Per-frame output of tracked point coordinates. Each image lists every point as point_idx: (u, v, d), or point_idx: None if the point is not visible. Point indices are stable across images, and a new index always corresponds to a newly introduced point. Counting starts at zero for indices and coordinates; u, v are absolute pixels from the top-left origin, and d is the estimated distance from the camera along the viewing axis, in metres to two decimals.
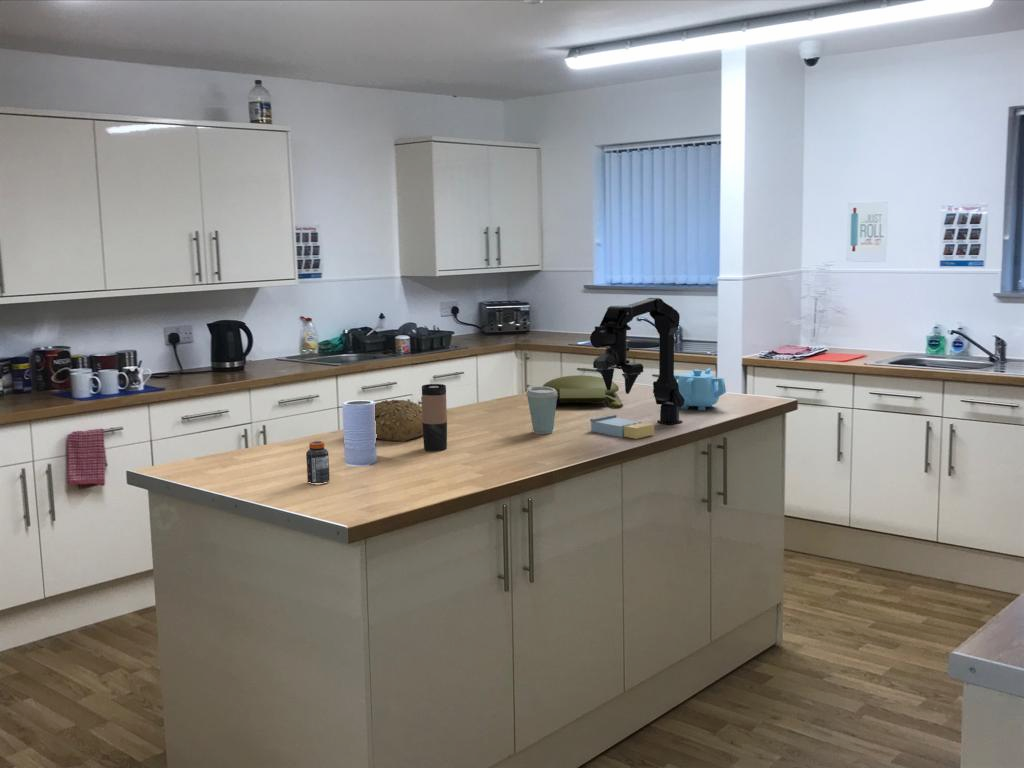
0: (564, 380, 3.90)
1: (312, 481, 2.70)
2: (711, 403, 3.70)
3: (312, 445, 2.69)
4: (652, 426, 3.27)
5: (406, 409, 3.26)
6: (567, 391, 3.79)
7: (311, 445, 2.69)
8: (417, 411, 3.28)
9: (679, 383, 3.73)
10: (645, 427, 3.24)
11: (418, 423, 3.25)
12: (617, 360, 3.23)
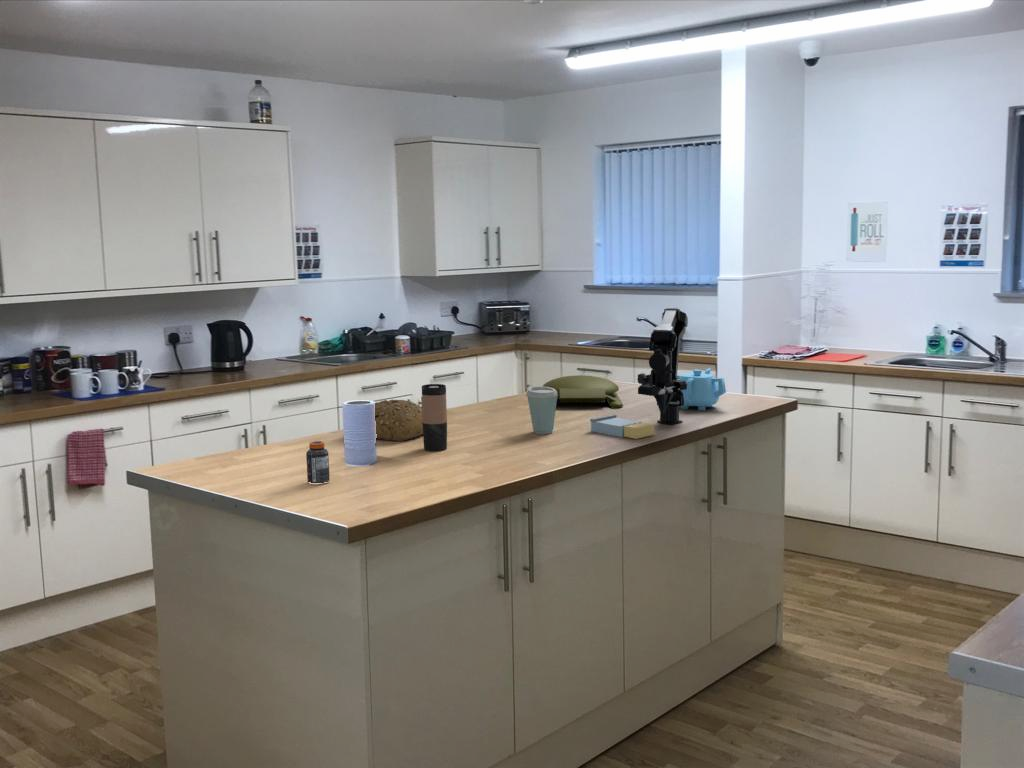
0: (564, 380, 3.90)
1: (312, 481, 2.70)
2: (711, 403, 3.70)
3: (312, 445, 2.69)
4: (652, 426, 3.27)
5: (405, 409, 3.27)
6: (567, 391, 3.79)
7: (311, 445, 2.69)
8: (416, 411, 3.28)
9: None
10: (645, 427, 3.24)
11: (418, 422, 3.26)
12: (650, 380, 3.32)
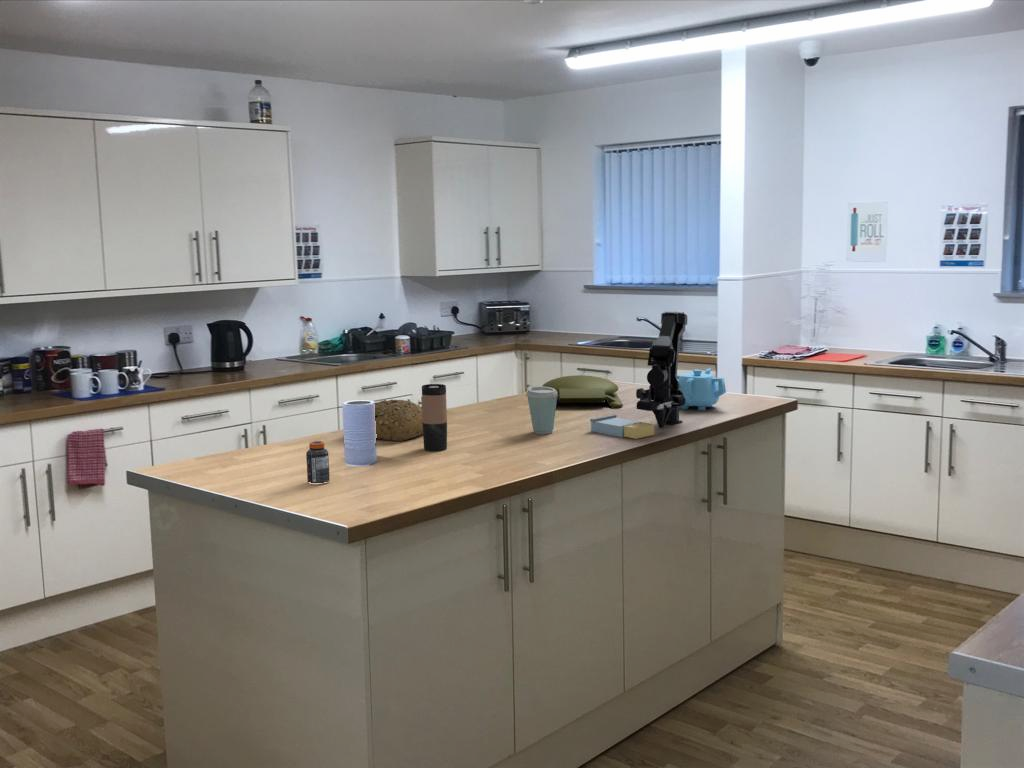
0: (564, 380, 3.90)
1: (312, 481, 2.70)
2: (711, 403, 3.70)
3: (312, 445, 2.69)
4: (652, 426, 3.27)
5: (405, 409, 3.27)
6: (567, 391, 3.79)
7: (311, 445, 2.69)
8: (416, 411, 3.29)
9: (679, 383, 3.73)
10: (645, 427, 3.24)
11: (417, 422, 3.26)
12: (649, 395, 3.32)
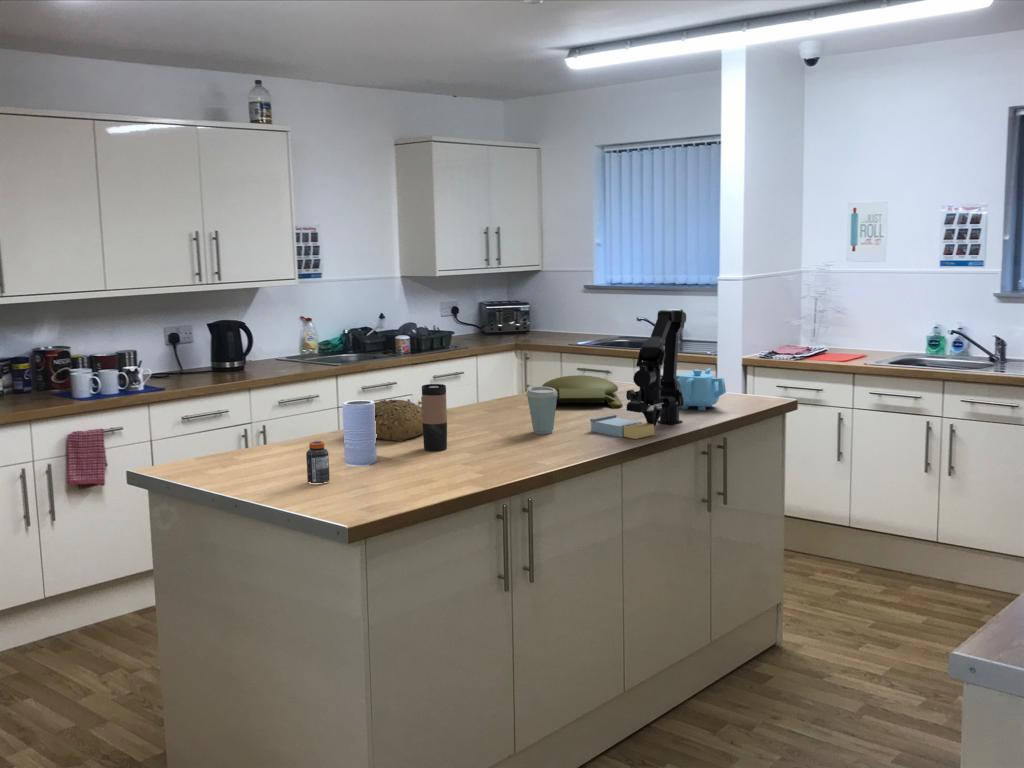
0: (563, 380, 3.90)
1: (312, 481, 2.70)
2: (711, 403, 3.70)
3: (312, 445, 2.69)
4: (652, 426, 3.26)
5: (404, 409, 3.27)
6: (567, 391, 3.79)
7: (311, 445, 2.69)
8: (415, 411, 3.29)
9: None
10: (645, 427, 3.24)
11: (416, 422, 3.26)
12: (639, 397, 3.29)
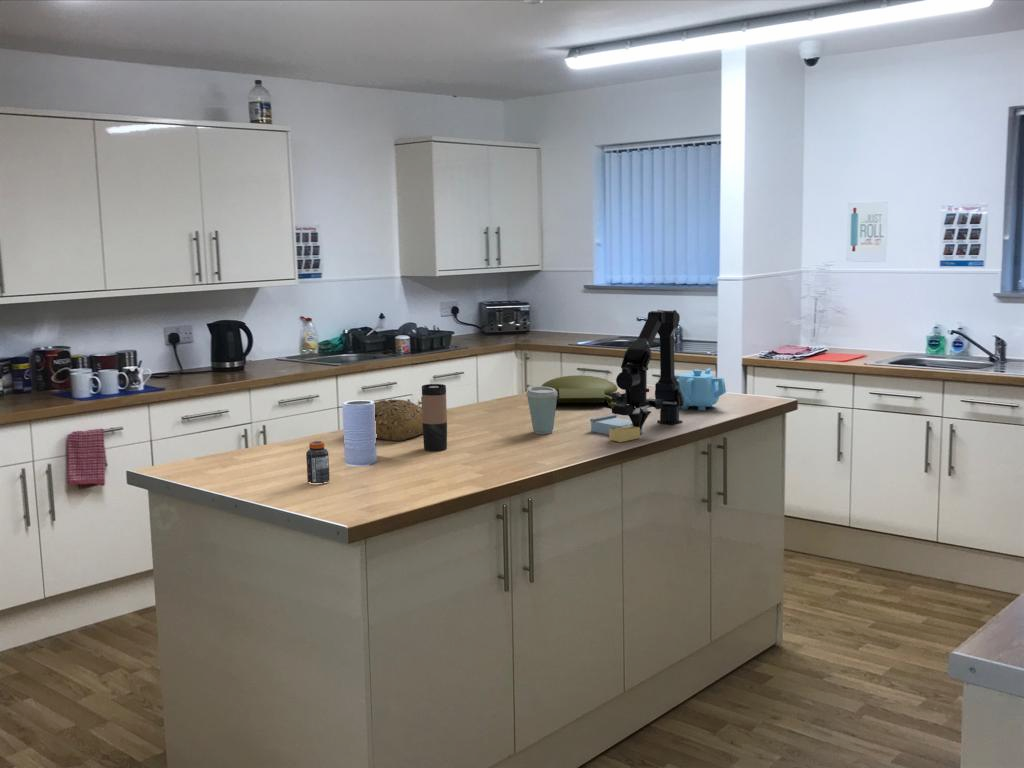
0: (563, 380, 3.90)
1: (312, 481, 2.70)
2: (711, 403, 3.70)
3: (312, 445, 2.69)
4: (638, 429, 3.22)
5: (404, 409, 3.27)
6: (566, 391, 3.79)
7: (311, 445, 2.69)
8: (415, 411, 3.29)
9: (679, 383, 3.73)
10: (630, 430, 3.20)
11: (416, 422, 3.26)
12: (625, 399, 3.24)
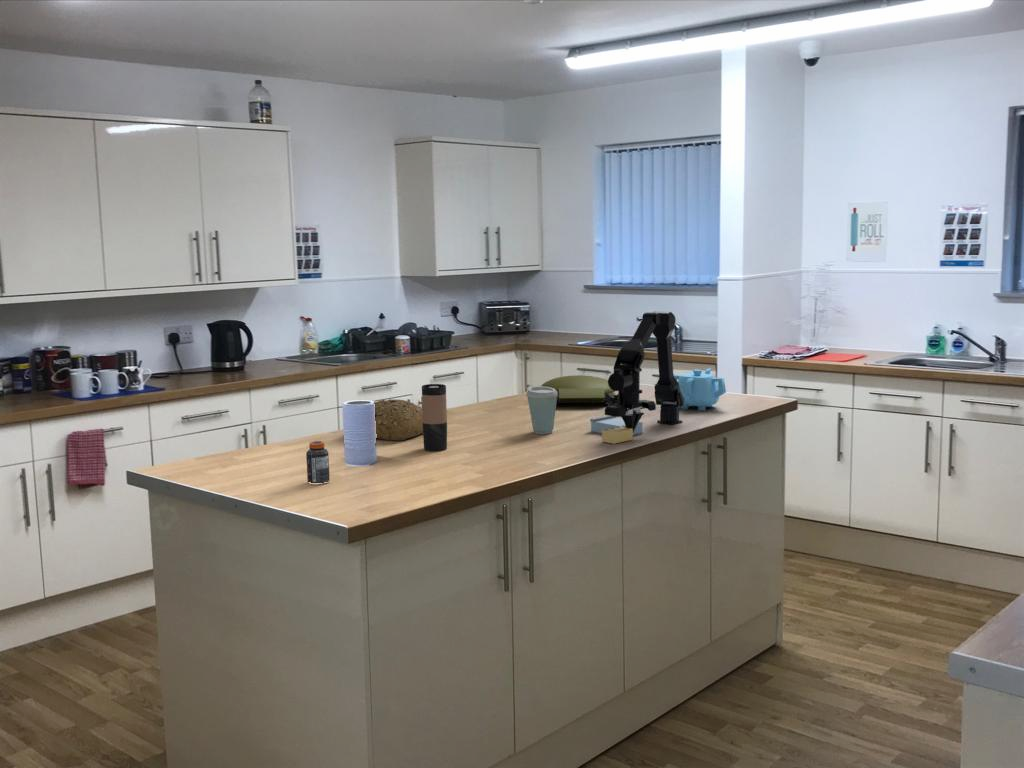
0: (563, 380, 3.90)
1: (312, 481, 2.70)
2: (711, 403, 3.70)
3: (312, 445, 2.69)
4: (631, 431, 3.20)
5: (403, 409, 3.27)
6: (566, 391, 3.79)
7: (311, 445, 2.69)
8: (414, 410, 3.29)
9: (679, 383, 3.73)
10: (623, 432, 3.17)
11: (416, 422, 3.27)
12: (618, 400, 3.22)
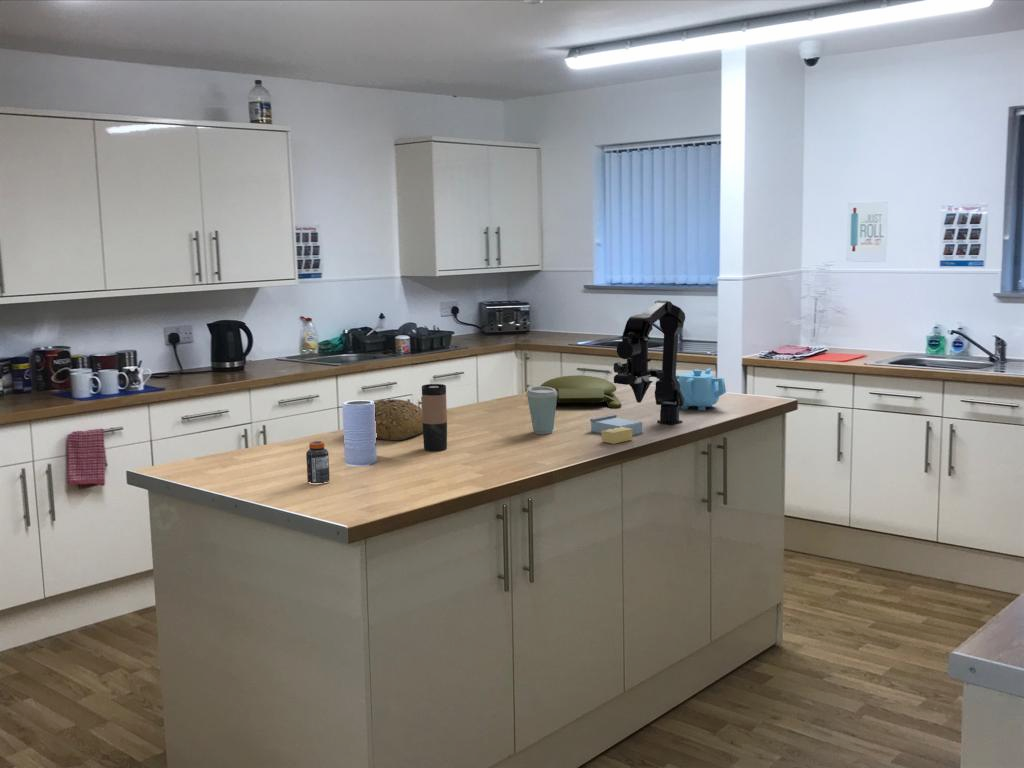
0: (562, 380, 3.90)
1: (312, 481, 2.70)
2: (711, 403, 3.70)
3: (312, 445, 2.69)
4: (630, 431, 3.20)
5: (402, 408, 3.28)
6: (566, 391, 3.79)
7: (311, 445, 2.69)
8: (413, 410, 3.29)
9: (679, 383, 3.73)
10: (623, 432, 3.17)
11: (415, 422, 3.27)
12: (626, 369, 3.25)
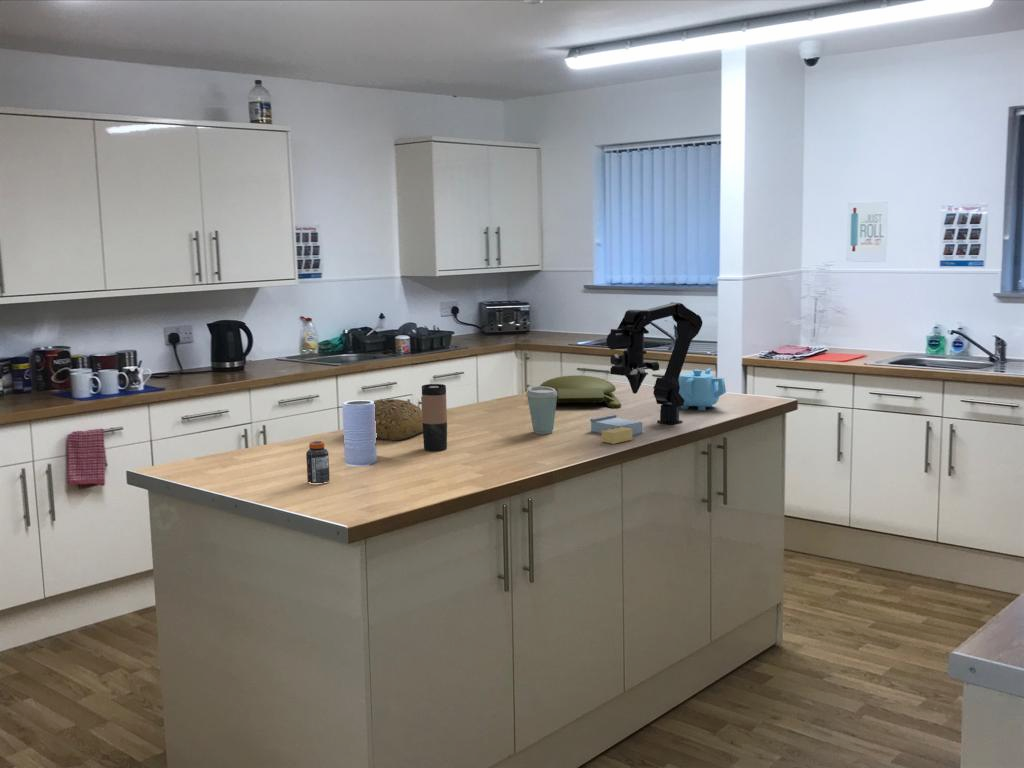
0: (561, 380, 3.90)
1: (312, 481, 2.70)
2: (711, 403, 3.70)
3: (312, 445, 2.69)
4: (630, 431, 3.20)
5: (401, 408, 3.28)
6: (565, 391, 3.78)
7: (311, 445, 2.69)
8: (412, 410, 3.30)
9: (679, 383, 3.73)
10: (623, 432, 3.17)
11: (414, 422, 3.27)
12: (623, 361, 3.36)
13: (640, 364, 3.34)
